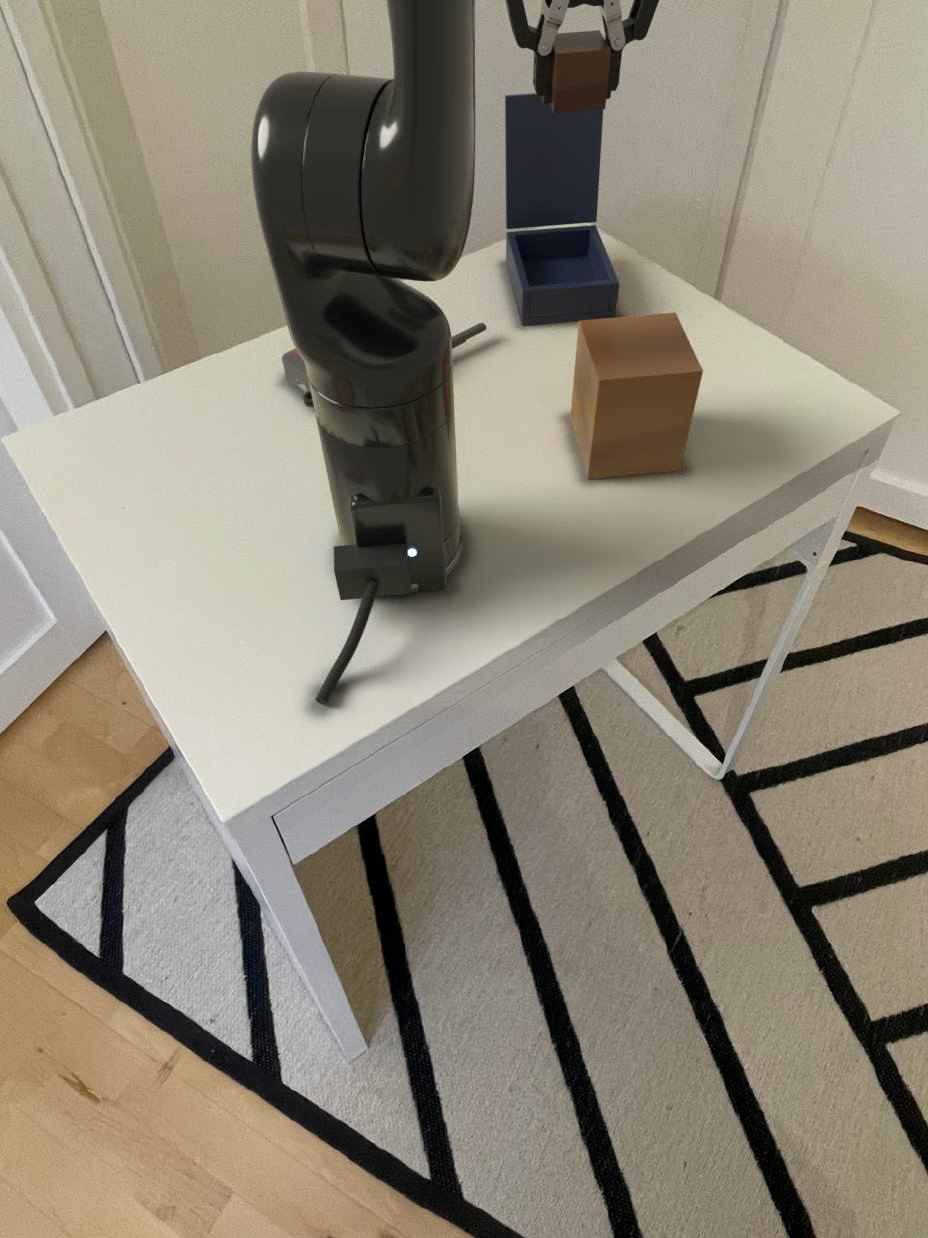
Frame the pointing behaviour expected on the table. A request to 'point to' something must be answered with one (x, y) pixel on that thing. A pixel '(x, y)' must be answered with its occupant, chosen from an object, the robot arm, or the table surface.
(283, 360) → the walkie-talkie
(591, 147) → the cover
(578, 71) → the block
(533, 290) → the navy jewelry box
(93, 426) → the table surface
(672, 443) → the stand
